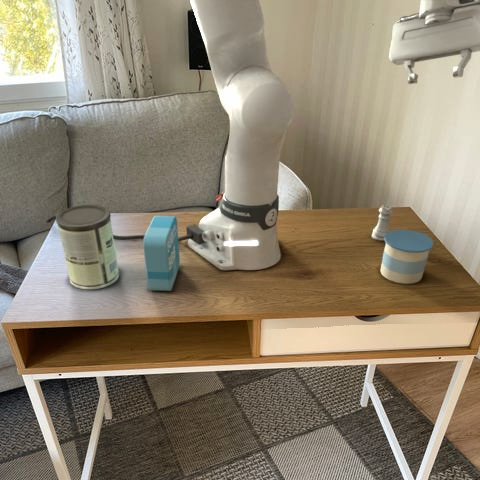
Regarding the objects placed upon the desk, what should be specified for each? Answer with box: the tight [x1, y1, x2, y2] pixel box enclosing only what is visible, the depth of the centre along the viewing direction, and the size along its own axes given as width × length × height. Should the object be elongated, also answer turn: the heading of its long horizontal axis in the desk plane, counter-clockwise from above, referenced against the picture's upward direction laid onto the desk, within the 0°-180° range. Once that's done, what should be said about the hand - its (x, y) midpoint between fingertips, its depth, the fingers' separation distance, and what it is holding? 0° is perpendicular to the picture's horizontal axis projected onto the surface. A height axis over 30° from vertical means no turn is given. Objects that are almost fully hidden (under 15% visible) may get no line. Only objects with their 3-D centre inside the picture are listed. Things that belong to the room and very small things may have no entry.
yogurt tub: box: [380, 229, 434, 285], centre depth 106 cm, size 10×10×8 cm
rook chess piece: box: [371, 204, 394, 242], centre depth 120 cm, size 4×4×8 cm
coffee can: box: [55, 204, 120, 291], centre depth 101 cm, size 10×10×14 cm
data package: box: [142, 215, 181, 292], centre depth 102 cm, size 12×4×12 cm, turn 176°
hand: (434, 80), depth 104 cm, fingers open, 8 cm apart
